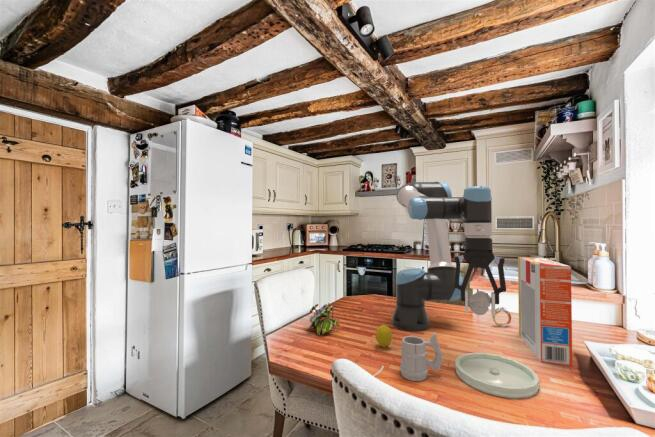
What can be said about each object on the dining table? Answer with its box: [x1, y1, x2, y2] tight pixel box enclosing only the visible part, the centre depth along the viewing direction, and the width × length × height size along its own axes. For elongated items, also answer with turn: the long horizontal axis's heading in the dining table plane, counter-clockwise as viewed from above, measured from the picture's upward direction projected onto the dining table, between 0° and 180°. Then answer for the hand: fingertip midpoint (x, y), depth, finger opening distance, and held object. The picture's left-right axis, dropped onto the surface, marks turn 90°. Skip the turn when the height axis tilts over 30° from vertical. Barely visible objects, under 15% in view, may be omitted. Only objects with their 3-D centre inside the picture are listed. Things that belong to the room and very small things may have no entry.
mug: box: [399, 332, 443, 382], centre depth 84 cm, size 8×12×12 cm, turn 87°
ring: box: [491, 306, 512, 328], centre depth 123 cm, size 7×3×8 cm, turn 76°
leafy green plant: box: [309, 302, 341, 337], centre depth 119 cm, size 13×12×14 cm
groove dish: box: [455, 352, 540, 400], centre depth 83 cm, size 20×20×2 cm
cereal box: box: [517, 256, 573, 367], centre depth 101 cm, size 23×8×30 cm, turn 161°
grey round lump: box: [468, 290, 492, 316], centre depth 89 cm, size 6×7×7 cm
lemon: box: [375, 323, 393, 349], centre depth 103 cm, size 6×6×8 cm
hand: (479, 313), depth 89 cm, fingers closed on grey round lump, 6 cm apart
